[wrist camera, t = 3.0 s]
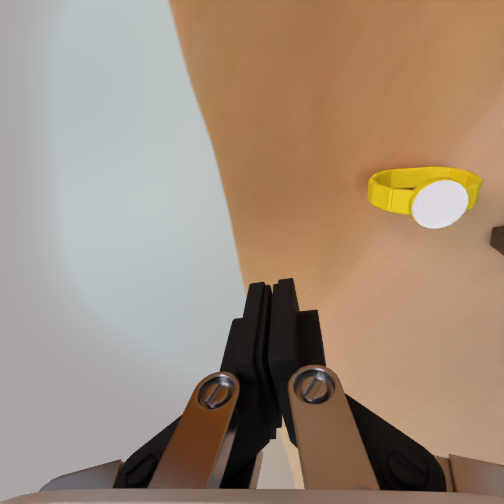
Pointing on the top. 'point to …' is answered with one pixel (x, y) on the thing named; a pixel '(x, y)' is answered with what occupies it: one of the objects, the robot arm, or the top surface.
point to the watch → (425, 193)
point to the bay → (498, 239)
